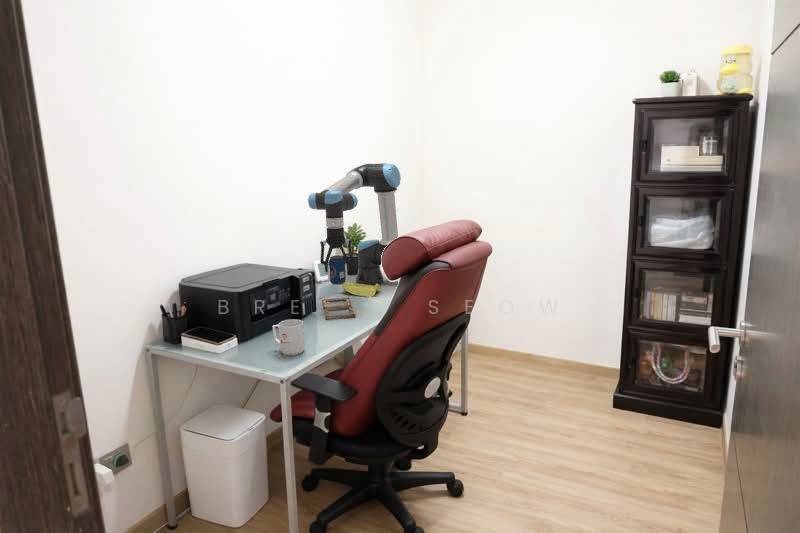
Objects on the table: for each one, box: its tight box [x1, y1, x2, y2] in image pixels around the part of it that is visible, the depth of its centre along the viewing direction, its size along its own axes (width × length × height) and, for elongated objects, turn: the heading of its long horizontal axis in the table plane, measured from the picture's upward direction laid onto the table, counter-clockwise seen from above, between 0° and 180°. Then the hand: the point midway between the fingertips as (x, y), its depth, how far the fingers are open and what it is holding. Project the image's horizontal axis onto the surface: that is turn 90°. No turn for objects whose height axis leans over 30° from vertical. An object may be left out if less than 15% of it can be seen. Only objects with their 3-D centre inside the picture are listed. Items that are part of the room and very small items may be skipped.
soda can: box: [328, 255, 347, 286], centre depth 243 cm, size 7×7×12 cm
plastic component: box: [341, 281, 381, 298], centre depth 280 cm, size 20×7×10 cm
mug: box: [271, 318, 306, 356], centre depth 203 cm, size 12×9×11 cm
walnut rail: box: [321, 297, 356, 321], centre depth 254 cm, size 29×13×1 cm, turn 11°
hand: (337, 278), depth 244 cm, fingers closed on soda can, 7 cm apart
